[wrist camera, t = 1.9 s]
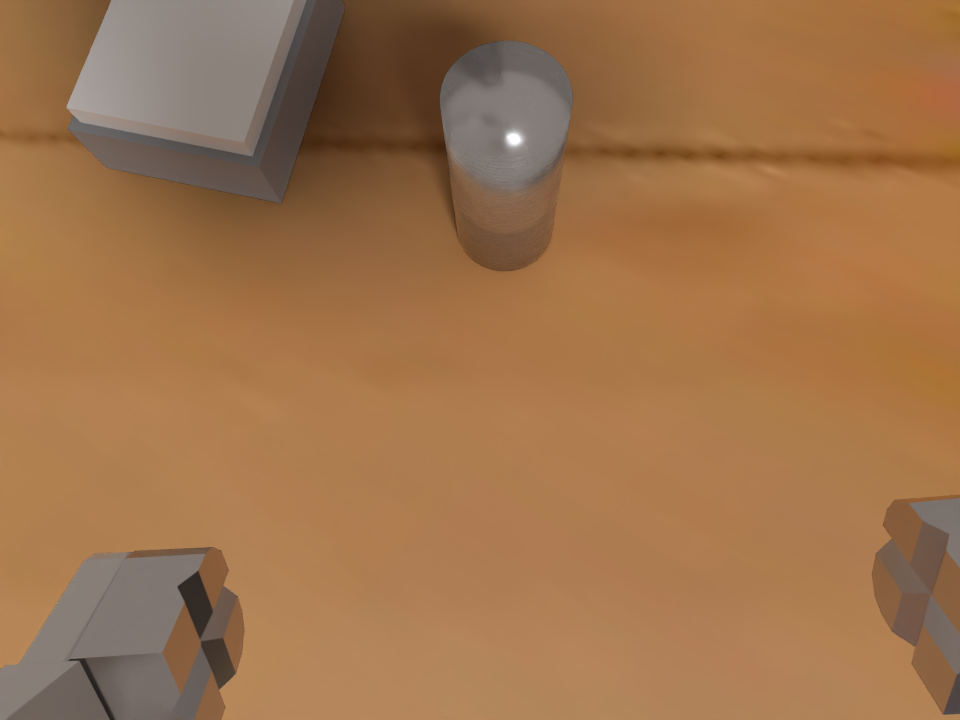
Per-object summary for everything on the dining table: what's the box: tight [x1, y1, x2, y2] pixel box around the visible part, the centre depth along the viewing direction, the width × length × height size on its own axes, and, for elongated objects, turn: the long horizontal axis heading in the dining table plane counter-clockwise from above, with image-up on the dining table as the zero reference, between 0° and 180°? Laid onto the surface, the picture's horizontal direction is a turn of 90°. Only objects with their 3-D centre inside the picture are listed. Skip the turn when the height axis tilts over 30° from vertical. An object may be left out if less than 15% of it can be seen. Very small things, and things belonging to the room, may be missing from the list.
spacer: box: [440, 41, 573, 271], centre depth 27 cm, size 4×4×9 cm
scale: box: [66, 0, 345, 203], centre depth 31 cm, size 9×10×4 cm
